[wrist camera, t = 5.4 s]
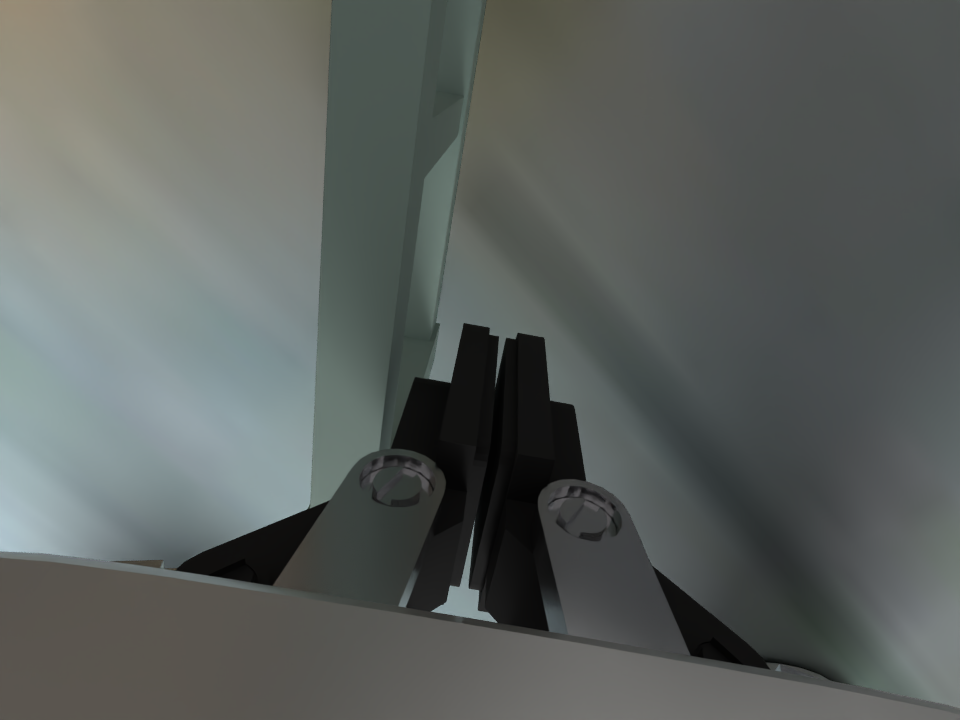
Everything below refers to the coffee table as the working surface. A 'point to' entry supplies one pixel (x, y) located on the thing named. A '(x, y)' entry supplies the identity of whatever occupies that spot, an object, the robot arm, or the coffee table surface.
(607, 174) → the coffee table surface
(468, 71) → the gate
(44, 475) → the coffee table surface
